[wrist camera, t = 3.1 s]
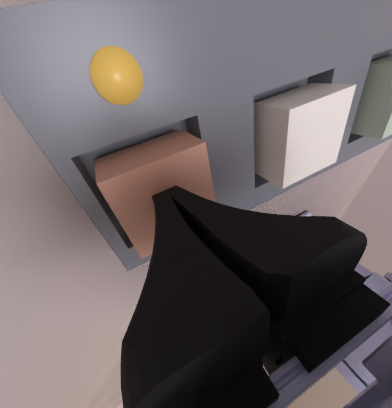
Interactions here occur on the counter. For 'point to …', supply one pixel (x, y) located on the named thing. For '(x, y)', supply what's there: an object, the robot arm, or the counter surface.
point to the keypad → (177, 81)
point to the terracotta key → (152, 180)
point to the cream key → (300, 131)
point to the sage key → (376, 101)
